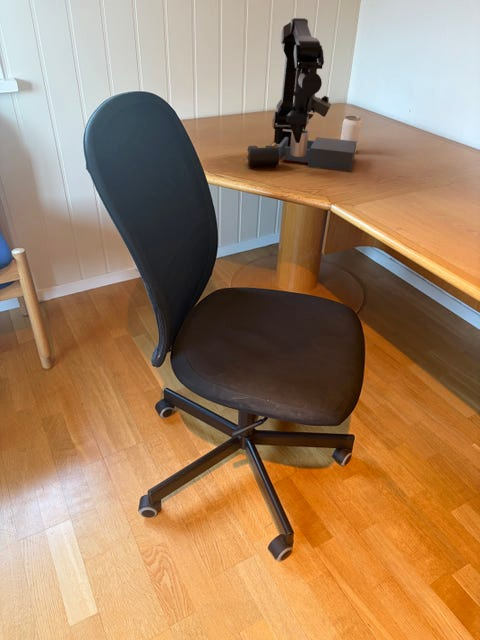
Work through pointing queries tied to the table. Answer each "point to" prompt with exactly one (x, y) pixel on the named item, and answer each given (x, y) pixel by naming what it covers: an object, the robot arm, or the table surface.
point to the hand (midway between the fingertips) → (299, 140)
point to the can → (351, 129)
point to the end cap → (263, 157)
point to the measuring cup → (298, 144)
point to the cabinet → (332, 154)
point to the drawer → (285, 151)
